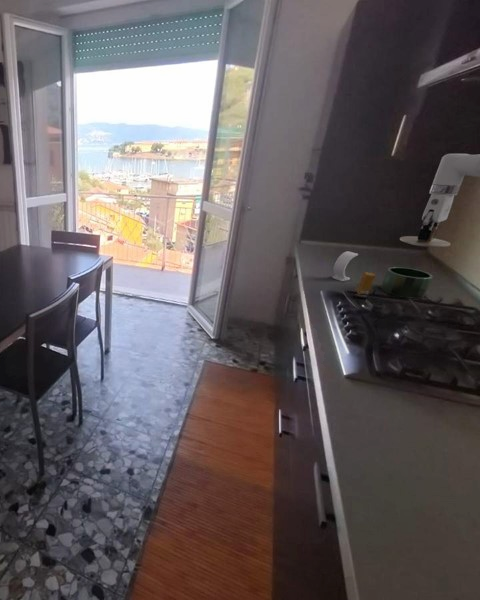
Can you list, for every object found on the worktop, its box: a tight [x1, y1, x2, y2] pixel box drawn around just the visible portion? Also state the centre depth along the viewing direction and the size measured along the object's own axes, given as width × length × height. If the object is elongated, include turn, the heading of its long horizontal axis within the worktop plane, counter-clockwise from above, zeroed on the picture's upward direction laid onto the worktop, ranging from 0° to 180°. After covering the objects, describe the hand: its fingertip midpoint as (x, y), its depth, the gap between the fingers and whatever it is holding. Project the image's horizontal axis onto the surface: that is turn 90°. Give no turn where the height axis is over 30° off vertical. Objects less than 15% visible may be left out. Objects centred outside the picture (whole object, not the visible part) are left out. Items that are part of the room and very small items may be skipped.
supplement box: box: [355, 271, 377, 296], centre depth 139 cm, size 3×4×10 cm
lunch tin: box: [380, 266, 434, 300], centre depth 144 cm, size 14×14×8 cm
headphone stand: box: [331, 250, 359, 282], centre depth 157 cm, size 5×6×12 cm
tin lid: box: [399, 226, 451, 248], centre depth 137 cm, size 15×15×7 cm
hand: (425, 238), depth 137 cm, fingers closed on tin lid, 4 cm apart
